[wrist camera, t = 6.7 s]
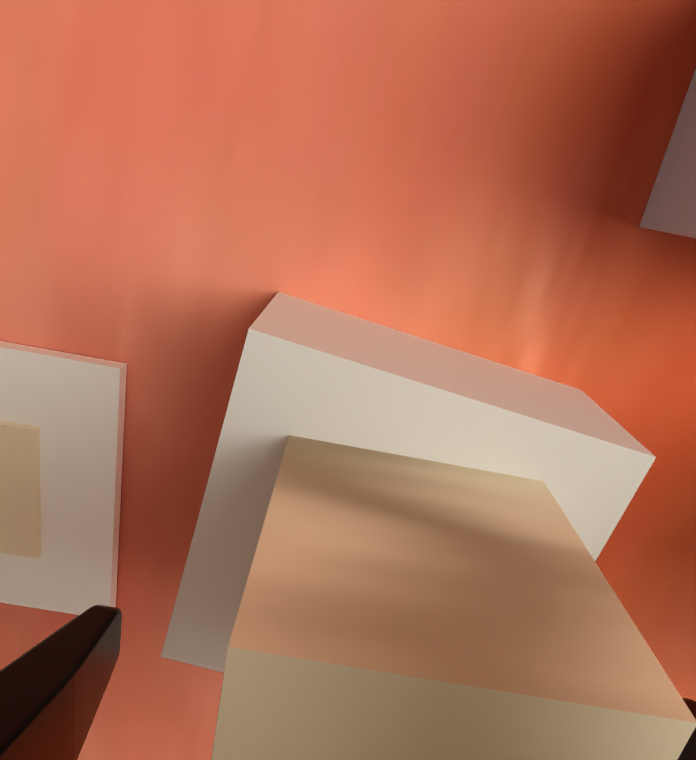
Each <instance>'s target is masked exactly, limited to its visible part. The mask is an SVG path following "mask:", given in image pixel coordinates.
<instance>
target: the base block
mask: <svg viewBox="0 0 696 760" xmlns="http://www.w3.org/2000/svg"><path fill="white" fill-rule="evenodd" d="M289 435H291V436H297V437H302V438H308V439H313V440H319V441H325V442H330V443H336V444H341V445H347V446H352V447H358V448H363V449H369V450H374V451H380V452H385V453H391V454H396V455H402V456H408V457H413V458H419V459H424V460H430V461H435V462H441V463H446V464H452V465H457V466H463V467H468V468H474V469H479V470H485V471H490V472H496V473H502V474H507V475H513V476H518V477H524V478H529V479H535V480H540V481H544V482H545V484H546V486H547V487H548V489H549V490H550V492H551V493H552V495H553V496H554V498H555V500H556V501H557V503H558V504H559V506H560V507H561V509H562V511H563V512H564V514H565V515H566V517H567V518H568V520H569V522H570V523H571V525H572V526H573V528H574V529H575V531H576V533H577V534H578V536H579V537H580V539H581V540H582V542H583V544H584V545H585V547H586V548H587V550H588V551H589V553H590V555H591V556H592V558H593V559H594V561H596V559H597V558H598V556H599V554H600V553H601V551H602V549H603V547H604V546H605V544H606V542H607V541H608V539H609V537H610V535H611V534H612V532H613V530H614V529H615V527H616V525H617V523H618V522H619V520H620V518H621V517H622V515H623V513H624V511H625V510H626V508H627V506H628V505H629V503H630V501H631V500H632V498H633V496H634V494H635V493H636V491H637V489H638V488H639V486H640V484H641V482H642V481H643V479H644V477H645V476H646V474H647V472H648V470H649V469H650V467H651V465H652V464H653V462H654V460H655V458H656V457H655V456H654V455H653V454H652V453H651V452H650V451H649V450H648V449H646V448H645V447H644V446H643V445H642V444H641V443H640V442H639V441H638V440H636V439H635V438H634V437H633V436H632V435H631V434H630V433H629V432H627V431H626V430H625V429H624V428H623V427H622V426H621V425H620V424H619V423H617V422H616V421H615V420H614V419H613V418H612V417H611V416H610V415H609V414H607V413H606V412H605V411H604V410H603V409H602V408H601V407H600V406H598V405H597V404H596V403H595V402H594V401H593V400H592V399H591V398H590V397H588V396H587V395H586V394H585V393H584V392H583V391H582V390H581V389H577V388H574V387H571V386H568V385H565V384H562V383H559V382H556V381H553V380H550V379H547V378H543V377H540V376H537V375H534V374H531V373H528V372H525V371H522V370H519V369H516V368H513V367H510V366H506V365H503V364H500V363H497V362H494V361H491V360H488V359H485V358H482V357H479V356H476V355H472V354H469V353H466V352H463V351H460V350H457V349H454V348H451V347H448V346H445V345H442V344H439V343H435V342H432V341H429V340H426V339H423V338H420V337H417V336H414V335H411V334H408V333H405V332H402V331H398V330H395V329H392V328H389V327H386V326H383V325H380V324H377V323H374V322H371V321H368V320H364V319H361V318H358V317H355V316H352V315H349V314H346V313H343V312H340V311H337V310H334V309H331V308H327V307H324V306H321V305H318V304H315V303H312V302H309V301H306V300H303V299H300V298H297V297H293V296H290V295H287V294H284V293H281V292H278V293H277V294H276V295H275V297H274V298H273V299H272V300H271V302H270V303H269V304H268V305H267V306H266V308H265V309H264V310H263V311H262V313H261V314H260V315H259V316H258V318H257V319H256V320H255V321H254V323H253V324H252V325H251V326H250V327H249V329H248V333H247V337H246V340H245V344H244V348H243V352H242V355H241V359H240V363H239V367H238V370H237V374H236V378H235V381H234V385H233V389H232V393H231V396H230V400H229V404H228V408H227V411H226V415H225V419H224V422H223V426H222V430H221V434H220V437H219V441H218V445H217V449H216V452H215V456H214V460H213V463H212V467H211V471H210V475H209V478H208V482H207V486H206V490H205V493H204V497H203V501H202V505H201V508H200V512H199V516H198V519H197V523H196V527H195V531H194V534H193V538H192V542H191V546H190V549H189V553H188V557H187V560H186V564H185V568H184V572H183V575H182V579H181V583H180V587H179V590H178V594H177V598H176V601H175V605H174V609H173V613H172V616H171V620H170V624H169V628H168V631H167V635H166V639H165V642H164V646H163V650H162V654H161V657H164V658H168V659H172V660H176V661H180V662H183V663H187V664H191V665H195V666H199V667H203V668H207V669H210V670H214V671H218V672H222V673H224V670H225V664H226V657H227V650H228V645H229V642H230V638H231V635H232V631H233V628H234V624H235V621H236V617H237V614H238V610H239V607H240V604H241V600H242V597H243V593H244V590H245V586H246V583H247V579H248V576H249V572H250V569H251V566H252V562H253V559H254V555H255V552H256V548H257V545H258V541H259V538H260V534H261V531H262V528H263V524H264V521H265V517H266V514H267V510H268V507H269V503H270V500H271V496H272V493H273V490H274V486H275V483H276V479H277V476H278V472H279V469H280V465H281V462H282V458H283V455H284V452H285V448H286V445H287V441H288V438H289Z"/></svg>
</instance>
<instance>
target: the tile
mask: <svg viewBox="0 0 696 760" xmlns="http://www.w3.org/2000/svg"><path fill="white" fill-rule="evenodd" d="M126 373H127V363H122V362H116V361H111V360H105V359H99V358H94V357H88V356H82V355H77V354H71V353H66V352H60V351H54V350H49V349H43V348H38V347H32V346H26V345H21V344H15V343H10V342H4V341H0V603H6V604H12V605H19V606H25V607H31V608H37V609H44V610H50V611H56V612H63V613H69V614H75V615H80V614H82V613H83V612H84V611H86V610H87V609H89V608H90V607H92V606H94V605H103V606H110V607H116V591H117V569H118V547H119V525H120V503H121V482H122V460H123V438H124V416H125V394H126Z"/></svg>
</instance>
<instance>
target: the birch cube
mask: <svg viewBox="0 0 696 760" xmlns="http://www.w3.org/2000/svg"><path fill="white" fill-rule="evenodd" d="M695 727H696V719H695V718H694V716H693V715H692V713H691V711H690V710H689V708H688V707H687V705H686V704H685V702H684V700H683V699H682V697H681V696H680V694H679V693H678V691H677V689H676V688H675V686H674V685H673V683H672V682H671V680H670V678H669V677H668V675H667V674H666V672H665V671H664V669H663V667H662V666H661V664H660V663H659V661H658V660H657V658H656V656H655V655H654V653H653V652H652V650H651V649H650V647H649V646H648V644H647V642H646V641H645V639H644V638H643V636H642V635H641V633H640V631H639V630H638V628H637V627H636V625H635V624H634V622H633V620H632V619H631V617H630V616H629V614H628V613H627V611H626V609H625V608H624V606H623V605H622V603H621V602H620V600H619V598H618V597H617V595H616V594H615V592H614V591H613V589H612V587H611V586H610V584H609V583H608V581H607V580H606V578H605V576H604V575H603V573H602V572H601V570H600V569H599V567H598V566H597V564H596V562H595V561H594V559H593V558H592V556H591V555H590V553H589V551H588V550H587V548H586V547H585V545H584V544H583V542H582V540H581V539H580V537H579V536H578V534H577V533H576V531H575V529H574V528H573V526H572V525H571V523H570V522H569V520H568V518H567V517H566V515H565V514H564V512H563V511H562V509H561V507H560V506H559V504H558V503H557V501H556V500H555V498H554V496H553V495H552V493H551V492H550V490H549V489H548V487H547V486H546V484H545V482H544V481H540V480H535V479H529V478H524V477H518V476H513V475H507V474H502V473H496V472H490V471H485V470H479V469H474V468H468V467H463V466H457V465H452V464H446V463H441V462H435V461H430V460H424V459H419V458H413V457H408V456H402V455H396V454H391V453H385V452H380V451H374V450H369V449H363V448H358V447H352V446H347V445H341V444H336V443H330V442H325V441H319V440H313V439H308V438H302V437H297V436H291V435H289V438H288V441H287V445H286V448H285V452H284V455H283V458H282V462H281V465H280V469H279V472H278V476H277V479H276V483H275V486H274V490H273V493H272V496H271V500H270V503H269V507H268V510H267V514H266V517H265V521H264V524H263V528H262V531H261V534H260V538H259V541H258V545H257V548H256V552H255V555H254V559H253V562H252V566H251V569H250V572H249V576H248V579H247V583H246V586H245V590H244V593H243V597H242V600H241V604H240V607H239V610H238V614H237V617H236V621H235V624H234V628H233V631H232V635H231V638H230V642H229V645H228V650H227V657H226V664H225V670H224V677H223V684H222V691H221V697H220V704H219V711H218V718H217V724H216V731H215V738H214V745H213V751H212V758H211V760H677V759H678V758H679V756H680V754H681V752H682V750H683V749H684V747H685V745H686V743H687V742H688V740H689V738H690V736H691V735H692V733H693V731H694V729H695Z"/></svg>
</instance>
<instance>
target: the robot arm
mask: <svg viewBox="0 0 696 760" xmlns="http://www.w3.org/2000/svg"><path fill="white" fill-rule="evenodd" d="M121 619H122V614H121V610H120V609H118V608H116V607H110V606H103V605H94V606H92V607H90V608H89V609H87V610H86V611H84V612H83V613H82V614H80V615H79V616H77V617H76V618H74V619H73V620H72V621H70V622H69V623H67V624H66V625H64V626H63V627H62V628H60V629H59V630H57V631H56V632H55V633H53V634H52V635H50V636H49V637H47V638H46V639H45V640H43V641H42V642H40V643H39V644H38V645H36V646H35V647H33V648H32V649H30V650H29V651H28V652H26V653H25V654H23V655H22V656H20V657H19V658H18V659H16V660H15V661H13V662H12V663H11V664H9V665H8V666H6V667H5V668H3V669H2V670H1V671H0V760H77V758H78V756H79V754H80V751H81V749H82V746H83V744H84V741H85V739H86V736H87V734H88V731H89V729H90V726H91V724H92V722H93V719H94V717H95V714H96V712H97V709H98V707H99V704H100V702H101V699H102V697H103V694H104V692H105V689H106V687H107V684H108V682H109V679H110V677H111V674H112V672H113V669H114V667H115V664H116V662H117V659H118V655H119V650H120V638H121ZM682 699H683V700H684V702H685V704H686V705H687V707H688V708H689V710H690V711H691V713H692V715H693V716H694V718H695V719H696V702H695V701H693V700H691V699H687V698H682ZM677 760H696V727H695V729H694V731H693V733H692V735H691V736H690V738H689V740H688V742H687V743H686V745H685V747H684V749H683V750H682V752H681V754H680V756H679V758H678V759H677Z"/></svg>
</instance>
